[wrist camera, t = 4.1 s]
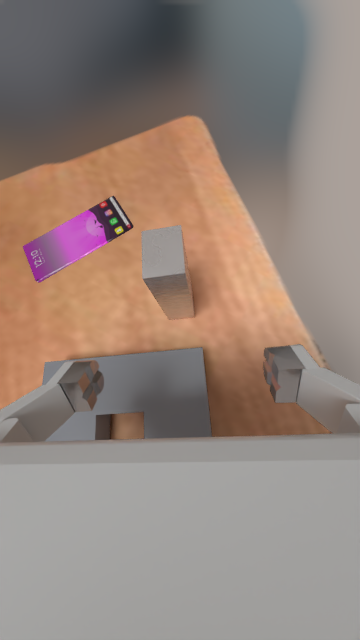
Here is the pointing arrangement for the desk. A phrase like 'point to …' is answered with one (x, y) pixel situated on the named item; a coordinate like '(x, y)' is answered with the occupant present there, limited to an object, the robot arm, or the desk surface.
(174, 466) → the robot arm
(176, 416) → the block
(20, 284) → the desk surface
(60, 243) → the smartphone
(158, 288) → the grey square post
